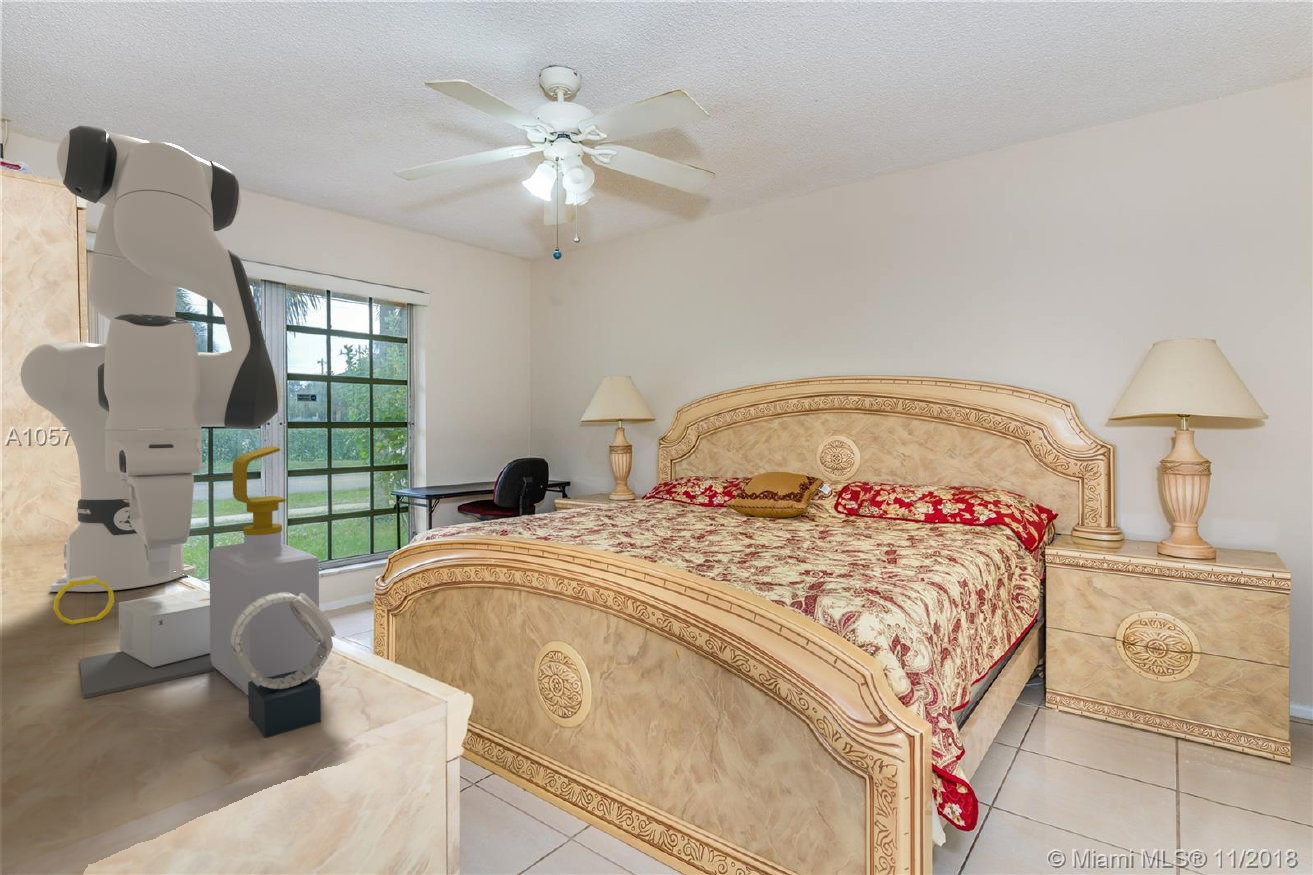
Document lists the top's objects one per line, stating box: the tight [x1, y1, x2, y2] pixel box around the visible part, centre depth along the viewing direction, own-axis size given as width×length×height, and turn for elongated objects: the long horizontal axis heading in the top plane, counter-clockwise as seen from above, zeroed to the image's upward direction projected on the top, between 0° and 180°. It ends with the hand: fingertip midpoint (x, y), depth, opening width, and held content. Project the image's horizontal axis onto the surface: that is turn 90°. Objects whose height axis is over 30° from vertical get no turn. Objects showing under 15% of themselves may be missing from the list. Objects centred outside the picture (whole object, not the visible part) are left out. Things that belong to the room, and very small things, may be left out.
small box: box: [118, 588, 210, 668], centre depth 76 cm, size 8×6×10 cm
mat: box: [78, 650, 218, 699], centre depth 73 cm, size 13×14×1 cm
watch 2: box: [229, 592, 336, 739], centre depth 58 cm, size 6×8×11 cm
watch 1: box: [52, 575, 115, 626], centre depth 88 cm, size 6×3×6 cm, turn 138°
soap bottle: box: [208, 445, 320, 696], centre depth 68 cm, size 12×7×23 cm, turn 49°
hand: (158, 575), depth 77 cm, fingers closed
